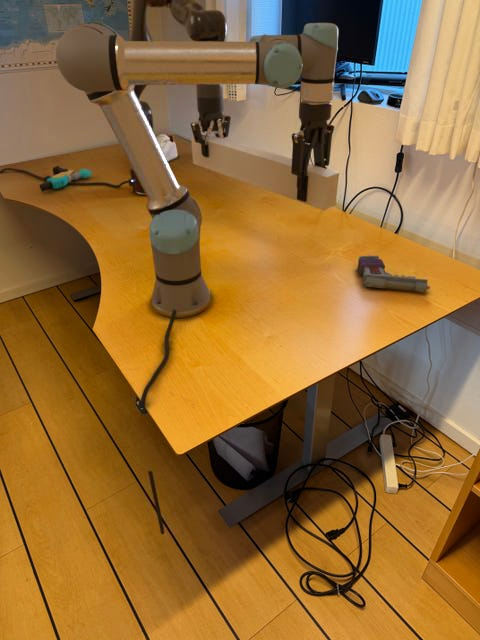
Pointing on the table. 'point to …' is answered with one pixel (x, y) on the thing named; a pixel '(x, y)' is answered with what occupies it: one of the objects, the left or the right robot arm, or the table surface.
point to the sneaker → (168, 146)
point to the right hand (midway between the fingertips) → (308, 197)
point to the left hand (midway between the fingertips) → (212, 154)
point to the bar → (267, 171)
